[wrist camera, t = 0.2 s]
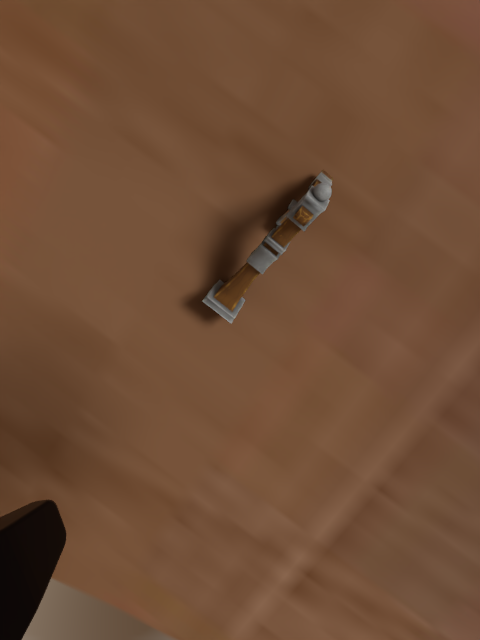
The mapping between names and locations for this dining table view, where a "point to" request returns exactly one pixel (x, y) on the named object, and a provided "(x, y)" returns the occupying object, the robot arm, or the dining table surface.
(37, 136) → the dining table surface
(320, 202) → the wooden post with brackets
